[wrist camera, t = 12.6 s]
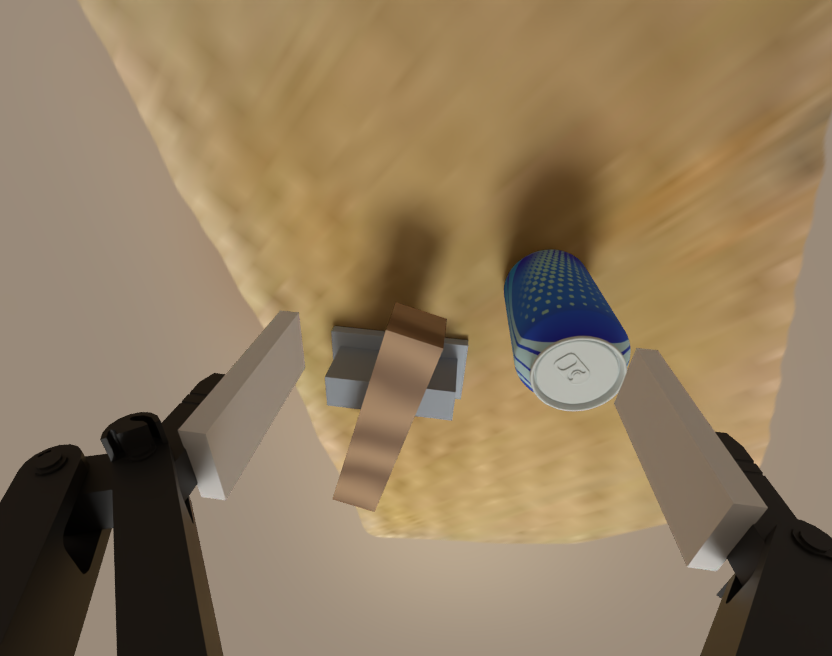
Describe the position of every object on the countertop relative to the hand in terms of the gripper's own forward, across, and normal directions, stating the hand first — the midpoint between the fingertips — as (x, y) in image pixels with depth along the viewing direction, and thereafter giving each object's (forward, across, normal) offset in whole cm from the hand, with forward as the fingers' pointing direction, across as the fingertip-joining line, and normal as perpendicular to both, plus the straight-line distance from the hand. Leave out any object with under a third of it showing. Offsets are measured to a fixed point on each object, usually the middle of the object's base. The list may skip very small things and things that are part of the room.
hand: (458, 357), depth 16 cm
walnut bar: (+20, -6, -20) cm, 29 cm away
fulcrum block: (+27, -6, -20) cm, 34 cm away
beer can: (+27, +9, -8) cm, 29 cm away
